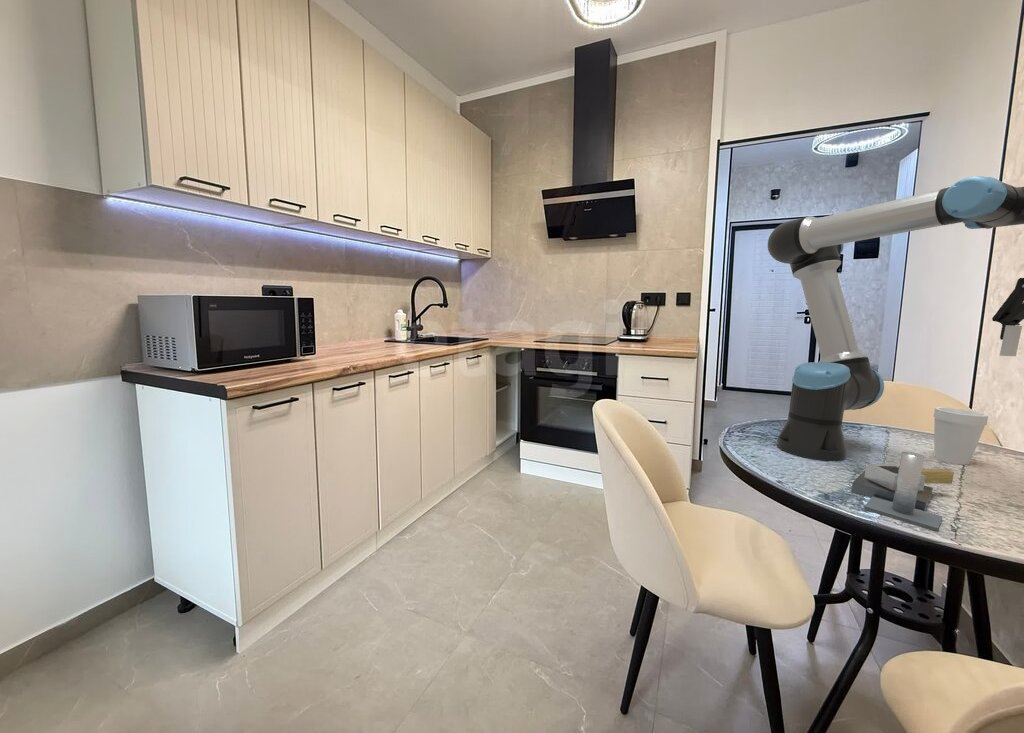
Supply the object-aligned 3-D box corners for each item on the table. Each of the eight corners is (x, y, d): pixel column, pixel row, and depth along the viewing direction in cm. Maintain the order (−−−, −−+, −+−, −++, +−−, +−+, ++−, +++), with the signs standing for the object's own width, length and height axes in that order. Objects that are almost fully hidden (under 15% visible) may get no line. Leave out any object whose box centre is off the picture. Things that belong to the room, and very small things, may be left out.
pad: (863, 509, 81) (864, 506, 81) (871, 499, 85) (872, 496, 85) (937, 531, 73) (938, 528, 73) (941, 519, 78) (942, 516, 78)
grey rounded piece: (924, 451, 117) (933, 405, 115) (973, 460, 111) (983, 411, 110) (928, 460, 110) (937, 411, 108) (981, 470, 104) (991, 418, 102)
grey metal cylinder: (890, 510, 79) (900, 454, 78) (893, 505, 81) (903, 450, 79) (911, 516, 77) (922, 459, 75) (914, 511, 79) (925, 455, 77)
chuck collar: (892, 490, 84) (895, 475, 84) (864, 477, 91) (866, 463, 90) (964, 491, 85) (967, 476, 85) (931, 478, 92) (933, 464, 91)
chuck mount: (851, 491, 89) (852, 482, 88) (863, 479, 96) (864, 470, 95) (923, 512, 80) (925, 502, 80) (931, 496, 87) (932, 487, 87)
